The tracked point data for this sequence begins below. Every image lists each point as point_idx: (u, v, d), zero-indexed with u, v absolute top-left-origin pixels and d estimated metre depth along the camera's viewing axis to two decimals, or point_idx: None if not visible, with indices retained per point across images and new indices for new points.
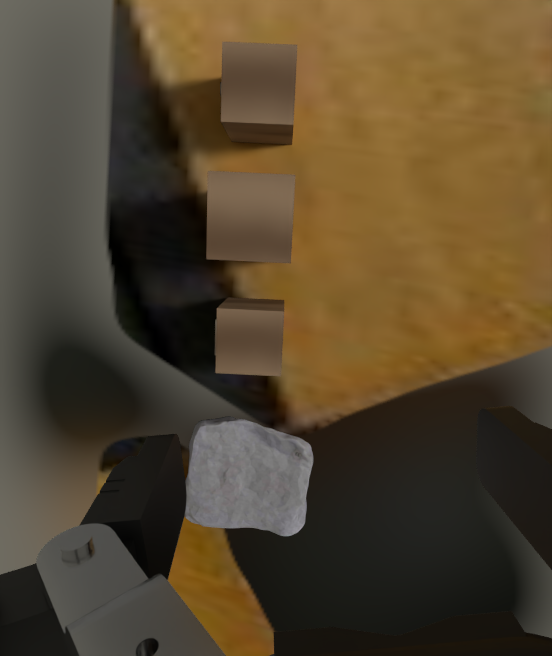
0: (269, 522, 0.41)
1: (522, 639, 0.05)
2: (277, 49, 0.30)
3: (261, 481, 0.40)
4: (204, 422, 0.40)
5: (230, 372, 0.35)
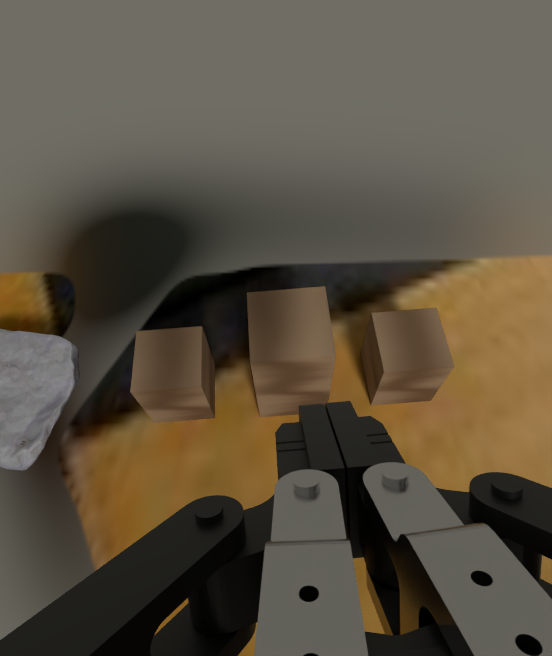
0: None
1: None
2: (444, 350, 0.33)
3: None
4: (75, 348, 0.39)
5: (136, 344, 0.34)
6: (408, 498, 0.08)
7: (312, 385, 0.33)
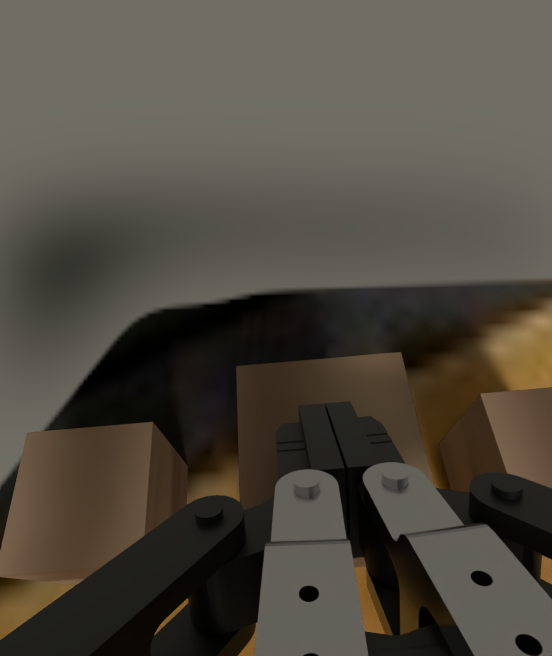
0: None
1: None
2: None
3: None
4: None
5: (23, 461, 0.17)
6: (408, 498, 0.08)
7: None
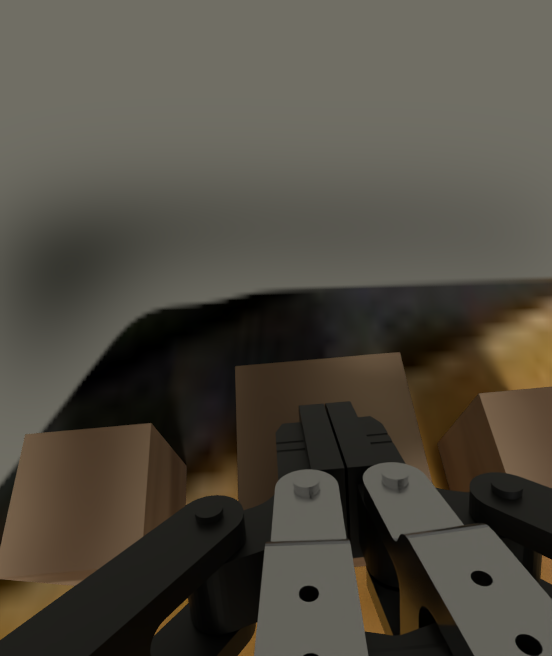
0: None
1: None
2: None
3: None
4: None
5: (21, 463, 0.17)
6: (408, 498, 0.08)
7: None
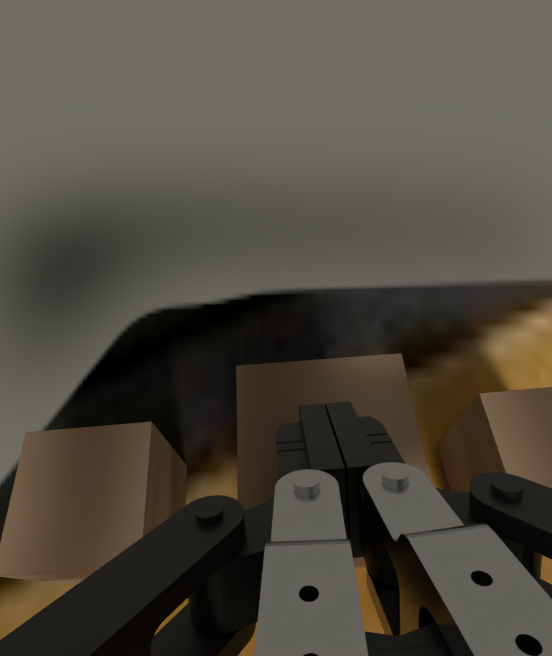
0: None
1: None
2: None
3: None
4: None
5: (21, 461, 0.17)
6: (408, 498, 0.08)
7: None
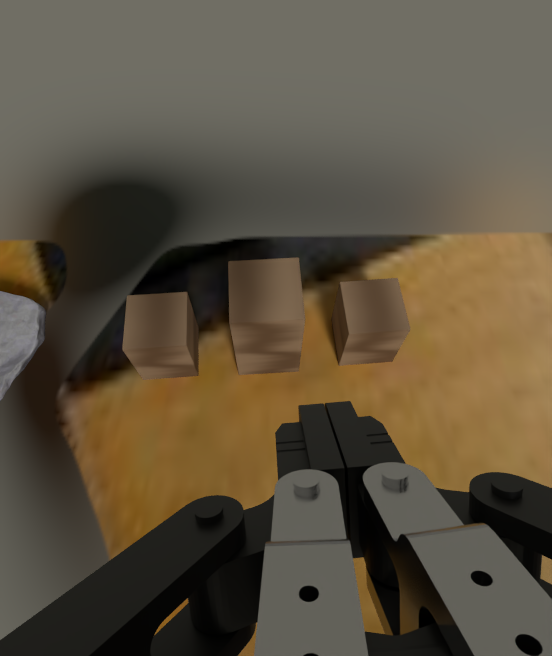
0: None
1: None
2: (402, 315, 0.37)
3: None
4: (42, 310, 0.43)
5: (127, 307, 0.37)
6: (408, 498, 0.08)
7: (285, 346, 0.37)
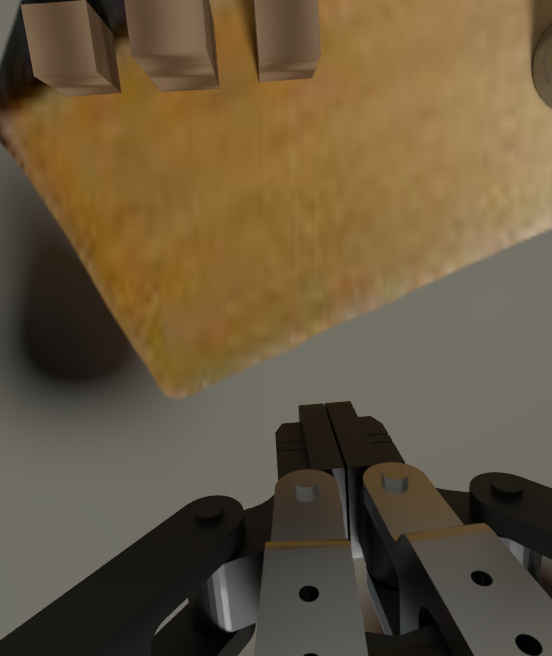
0: None
1: None
2: (315, 36, 0.36)
3: None
4: None
5: (25, 21, 0.35)
6: (408, 498, 0.08)
7: (197, 70, 0.37)
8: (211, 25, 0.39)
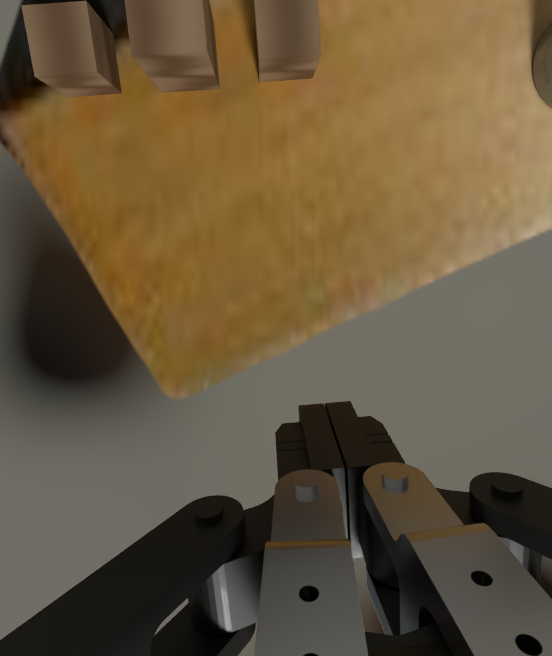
0: None
1: None
2: (315, 36, 0.36)
3: None
4: None
5: (25, 22, 0.35)
6: (408, 498, 0.08)
7: (197, 71, 0.37)
8: (211, 25, 0.39)
